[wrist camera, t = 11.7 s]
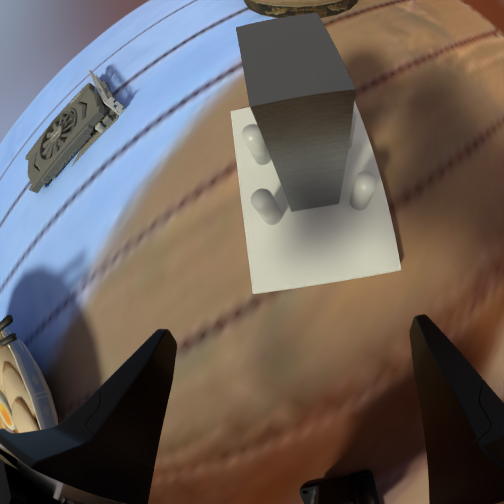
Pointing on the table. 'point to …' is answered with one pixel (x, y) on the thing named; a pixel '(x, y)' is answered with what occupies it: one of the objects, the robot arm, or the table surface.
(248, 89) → the block
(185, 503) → the table surface
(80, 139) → the graphics card
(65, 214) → the table surface
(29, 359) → the ramen bowl
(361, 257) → the pin tray
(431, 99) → the table surface
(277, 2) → the brown flat round piece
